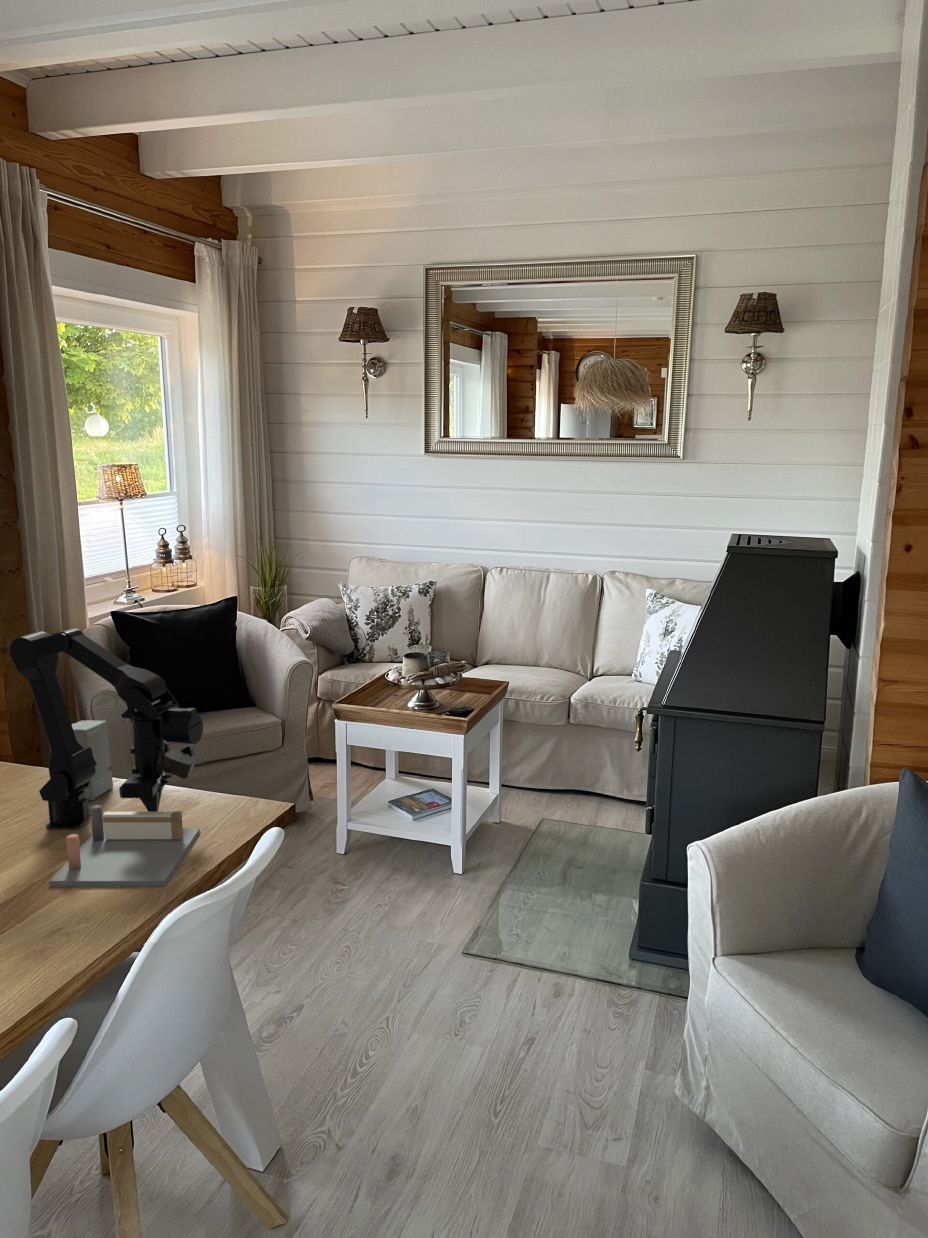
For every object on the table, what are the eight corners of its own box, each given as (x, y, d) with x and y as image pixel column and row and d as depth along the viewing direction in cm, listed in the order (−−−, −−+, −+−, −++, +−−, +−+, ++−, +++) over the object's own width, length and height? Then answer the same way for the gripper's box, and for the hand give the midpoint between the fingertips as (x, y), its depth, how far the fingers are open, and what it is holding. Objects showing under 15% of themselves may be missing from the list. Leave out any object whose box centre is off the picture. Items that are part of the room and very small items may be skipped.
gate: (104, 839, 174) (102, 815, 173) (107, 835, 175) (106, 811, 174) (180, 839, 174) (179, 815, 173) (183, 835, 175) (181, 811, 174)
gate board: (49, 886, 158) (46, 846, 156) (98, 833, 179) (95, 797, 178) (164, 886, 158) (162, 846, 157) (199, 833, 180) (197, 797, 178)
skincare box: (93, 801, 195) (87, 731, 192) (63, 799, 197) (57, 729, 194) (115, 787, 203) (110, 719, 200) (87, 784, 205) (81, 717, 202)
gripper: (176, 756, 167) (181, 835, 170) (203, 725, 186) (207, 797, 189) (115, 756, 167) (121, 835, 170) (149, 725, 186) (153, 797, 189)
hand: (154, 815), depth 179 cm, fingers closed
